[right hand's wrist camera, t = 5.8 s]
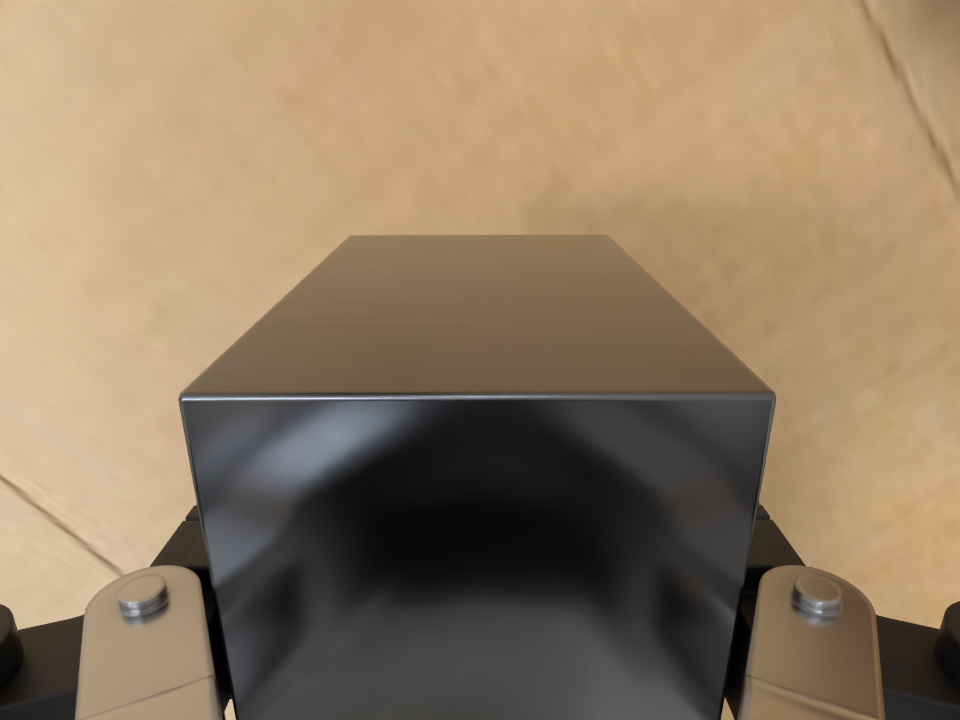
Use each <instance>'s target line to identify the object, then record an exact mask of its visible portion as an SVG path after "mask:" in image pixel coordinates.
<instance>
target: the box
mask: <svg viewBox="0 0 960 720" xmlns="http://www.w3.org/2000/svg"><path fill="white" fill-rule="evenodd" d="M775 403H776V396H775V392H774V391H773V390H771V389H770V388H769V387H768V386H767V385H766V384H765V383H764V382H763V381H762V380H761V379H760V378H759V377H758V376H757V375H756V374H754V373H753V372H752V371H751V370H750V369H749V368H748V367H747V366H746V365H745V364H744V363H743V362H742V361H741V360H740V359H739V358H737V357H736V356H735V355H734V354H733V353H732V352H731V351H730V350H729V349H728V348H727V347H726V346H725V345H724V344H723V343H721V342H720V341H719V340H718V339H717V338H716V337H715V336H714V335H713V334H712V333H711V332H710V331H709V330H708V329H707V328H706V327H704V326H703V325H702V324H701V323H700V322H699V321H698V320H697V319H696V318H695V317H694V316H693V315H692V314H691V313H690V312H689V311H687V310H686V309H685V308H684V307H683V306H682V305H681V304H680V303H679V302H678V301H677V300H676V299H675V298H674V297H673V296H671V295H670V294H669V293H668V292H667V291H666V290H665V289H664V288H663V287H662V286H661V285H660V284H659V283H658V282H657V281H656V280H654V279H653V278H652V277H651V276H650V275H649V274H648V273H647V272H646V271H645V270H644V269H643V268H642V267H641V266H640V265H639V264H637V263H636V262H635V261H634V260H633V259H632V258H631V257H630V256H629V255H628V254H627V253H626V252H625V251H624V250H623V249H621V248H620V247H619V246H618V245H617V244H616V243H615V242H614V241H613V240H612V239H611V238H610V237H609V236H607V235H374V236H349V237H348V238H347V239H346V240H345V241H344V242H343V243H341V244H340V245H339V246H338V247H337V248H336V249H335V250H334V251H333V252H332V253H331V254H330V255H329V256H327V257H326V258H325V259H324V260H323V261H322V262H321V263H320V264H319V265H318V266H317V267H316V268H315V269H313V270H312V271H311V272H310V273H309V274H308V275H307V276H306V277H305V278H304V279H303V280H302V281H301V282H299V283H298V284H297V285H296V286H295V287H294V288H293V289H292V290H291V291H290V292H289V293H288V294H287V295H285V296H284V297H283V298H282V299H281V300H280V301H279V302H278V303H277V304H276V305H275V306H274V307H273V308H271V309H270V310H269V311H268V312H267V313H266V314H265V315H264V316H263V317H262V318H261V319H260V320H259V321H257V322H256V323H255V324H254V325H253V326H252V327H251V328H250V329H249V330H248V331H247V332H246V333H245V334H243V335H242V336H241V337H240V338H239V339H238V340H237V341H236V342H235V343H234V344H233V345H232V346H231V347H229V348H228V349H227V350H226V351H225V352H224V353H223V354H222V355H221V356H220V357H219V358H218V359H217V360H215V361H214V362H213V363H212V364H211V365H210V366H209V367H208V368H207V369H206V370H205V371H204V372H203V373H201V374H200V375H199V376H198V377H197V378H196V379H195V380H194V381H193V382H192V383H191V384H190V385H189V386H187V387H186V388H185V389H184V390H183V391H182V392H181V393H180V396H179V405H180V411H181V417H182V422H183V428H184V433H185V439H186V444H187V450H188V456H189V461H190V467H191V472H192V478H193V483H194V489H195V494H196V500H197V506H198V511H199V517H200V522H201V528H202V533H203V539H204V544H205V550H206V556H207V561H208V567H209V572H210V578H211V583H212V589H213V595H214V600H215V606H216V611H217V617H218V622H219V628H220V633H221V639H222V645H223V650H224V656H225V661H226V667H227V672H228V678H229V683H230V689H231V695H232V700H233V706H234V711H235V717H236V720H721V714H722V709H723V703H724V697H725V691H726V686H727V680H728V674H729V668H730V662H731V657H732V651H733V645H734V639H735V634H736V628H737V622H738V616H739V611H740V605H741V599H742V593H743V587H744V582H745V576H746V570H747V564H748V559H749V553H750V547H751V541H752V536H753V530H754V524H755V518H756V513H757V507H758V501H759V495H760V489H761V484H762V478H763V472H764V466H765V461H766V455H767V449H768V443H769V438H770V432H771V426H772V420H773V414H774V409H775Z"/></svg>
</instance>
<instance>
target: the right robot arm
mask: <svg viewBox="0 0 960 720" xmlns="http://www.w3.org/2000/svg"><path fill="white" fill-rule="evenodd" d="M725 698H726V700H727V702H728V705H729V707H730V709H731V712H732V714H733V717H734V720H960V601H959V602H956V603H954V604H952V605H951V606H949V607H948V608H947V610H946V611H945V614H944V617H943V620H942V624H941V627H940V629H936V628H931V627H927V626H922V625H918V624H913V623H908V622H904V621H899V620H895V619H890V618H886V617H882V616H878V615H876V614H875V610H874V608H873V606H872V604H871V602H870V601H869V600H868V598H867V597H866V596H865V595H864V594H863V593H862V592H861V591H860V590H858V589H857V588H856V587H855V586H853V585H852V584H850V583H849V582H847V581H845V580H844V579H842V578H840V577H838V576H836V575H833V574H831V573H829V572H826V571H823V570H820V569H816V568H812V567H807V566H805V564H804V563H803V561H802V560H801V559H800V557H799V556H798V554H797V553H796V552H795V550H794V549H793V548H792V546H791V545H790V543H789V542H788V541H787V539H786V538H785V537H784V535H783V534H782V532H781V531H780V530H779V528H778V527H777V525H776V524H775V523H774V521H773V520H770V516H769V514H768V513H767V512H766V510H765V509H764V507H763V506H762V505H759V501H758V507H757V513H756V518H755V524H754V530H753V536H752V541H751V547H750V553H749V559H748V564H747V570H746V576H745V582H744V587H743V593H742V599H741V605H740V611H739V616H738V622H737V628H736V634H735V639H734V645H733V651H732V657H731V662H730V668H729V674H728V680H727V686H726V691H725ZM230 699H232V695H231V689H230V683H229V678H228V672H227V667H226V661H225V656H224V650H223V645H222V639H221V633H220V628H219V622H218V617H217V611H216V606H215V600H214V595H213V589H212V583H211V578H210V572H209V567H208V561H207V556H206V550H205V544H204V539H203V533H202V528H201V522H200V517H199V511H198V506H194V507H193V508H192V509H191V511H190V512H189V514H188V515H187V516H186V521H183V522H182V523H181V525H180V526H179V527H178V529H177V530H176V531H175V533H174V534H173V535H172V537H171V538H170V540H169V541H168V542H167V544H166V545H165V546H164V548H163V549H162V550H161V552H160V553H159V555H158V556H157V557H156V559H155V560H154V561H153V563H152V564H151V566H150V567H148V568H144V569H140V570H137V571H134V572H131V573H129V574H127V575H124V576H122V577H120V578H118V579H116V580H115V581H113V582H111V583H110V584H108V585H107V586H105V587H104V588H103V589H102V590H100V591H99V592H98V593H97V594H96V595H95V596H94V597H93V598H92V600H91V601H90V602H89V604H88V606H87V608H86V610H85V614H84V615H82V616H79V617H75V618H71V619H67V620H63V621H58V622H53V623H49V624H44V625H40V626H35V627H30V628H26V629H21V630H17V627H16V624H15V620H14V617H13V614H12V612H11V611H10V609H8V608H7V607H6V606H4V605H1V604H0V720H226V719H225V713H224V711H225V709H226V707H227V704H228V702H229V700H230Z"/></svg>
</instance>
